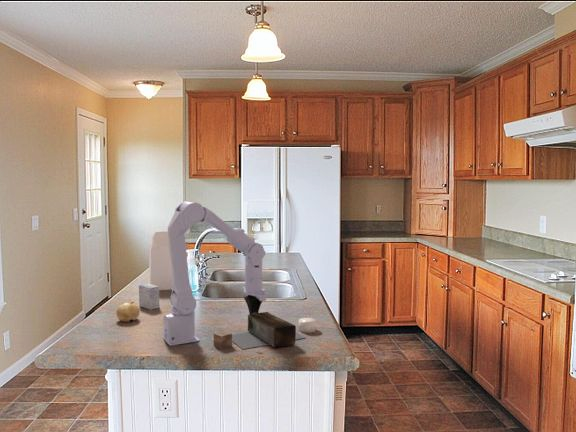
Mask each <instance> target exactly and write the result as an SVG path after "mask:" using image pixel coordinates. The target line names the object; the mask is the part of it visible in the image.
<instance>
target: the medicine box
mask: <svg viewBox="0 0 576 432" xmlns="http://www.w3.org/2000/svg"><path fill="white" fill-rule="evenodd" d="M138 295H139V296H138V297H139V298H138V299H139V303H138V305H139V306H138V307H141V308H144V309H147V310H151V311H152V310H155V309H159V308H160V290H159V287H158V286H155V285H152V284H149V283H144V284H140V285H138Z"/></svg>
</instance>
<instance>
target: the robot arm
mask: <svg viewBox="0 0 576 432" xmlns="http://www.w3.org/2000/svg"><path fill="white" fill-rule="evenodd" d="M200 222H201V223H206V224H209V225H210V226H211V227H213V228H215V229H216V230H218V231H219V232H220V233H222V234H223V235H224V236H226V241H227V243H228V244H230V245H231V246H232V247H234V248H235V249H237V250H238V251H239V252H240V253H242V255H243V256H244V257H245V258H244V260H245V261H244V265H245V267H244V268H245V269H244V272H245V273H244V277H245V278H244V283H245V285H244V286H242V289H241V290H242V293H244V294H245V295H246V296H244V297H243V299H244V302H245V303H246V305H247V309H248V313H249V314H252V313H254V312H256V313H260V307H261V305H262V303H263V302H265V301H267V294H265V292H266V289H265V288H263V258H264V257H265V255H266V251H265V248H264V246H263V245H262V244H261V243H259V242H256V239H255V238H254V237H251V236H249V235H248V234H247V233H245V229H243V228H242V227H240V228H239V227H233V228H232V227H231V226H230V225H229V224H228V223H226V222H225V220H223V219H222V218H220V216H218V215H217V214H216V213H215V212H213V211H212V210H211V209H209V208H207V207H205V206H203V205H202V204H201V203H199V202H193V201H190V200H186V201H183V202H181V203H180V204H179V205H178V206H177V207H175V210H174V213H173V215H172V217H171V219H170V222H169V223H168V226H167V231H168V237H169V247H170V256H171V266H172V276H173V285H172V289H171V294H170V296H169V301H170V302H169V303H170V305H172V306H173V307H172V309H171V312H170V313H168V314H165V315H164V316H163V338H162V339H163V340H164V341H165V342H166V344H168V345H169V346H179V345H183V344H189V343H196V342H200V339H199V338H198V337H197V336H196V326H195V325H196V322H195V319H196V318H195V317H196V315H195V314H196V313H195V312H196V307H197V300H196V298H195V296H194V295H193V289H192V285H191V284H190V283H191V282H190V276H189V275H190V274H189V266H188V265H189V264H188V253H187V244H186V237H185V235H186V233H187V232H188V231H189V230H190V228H192V226H194V225H196V224H198V223H200ZM249 314H248V315H249Z"/></svg>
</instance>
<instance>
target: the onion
mask: <svg viewBox="0 0 576 432" xmlns="http://www.w3.org/2000/svg"><path fill="white" fill-rule="evenodd" d="M115 313H116V317H117V319H118V320H119V321H120V322H121V323H122V322H123V323H129V322H130V321H136V320H137V319H138V318H139V316H140V308H139V306H138V305H137V304H136V303H134V300H131V299H129V301H128V302H124V303H122V304H121V305H119V306H118V307H117V309H116V312H115Z"/></svg>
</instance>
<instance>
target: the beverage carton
mask: <svg viewBox="0 0 576 432" xmlns="http://www.w3.org/2000/svg"><path fill="white" fill-rule="evenodd" d="M247 332H250V333H252V334H253V335H255V336H257V337H258V338H260V339H262V340H263V341H265V342H267V343H268V344H270V345H269V346H271V347H272V348H279V347H285V346H290V345H291V346H292V345H295V344H296V340H295V337H296V333H297V327H296V325H294V324H293V323H291V322H288V321H286V320H285V319H282V318H280V317H278V316H276V315H274V314H273V313H271V312H268V311H263V312H258V313H256V312H254V313H252V314H247Z"/></svg>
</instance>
